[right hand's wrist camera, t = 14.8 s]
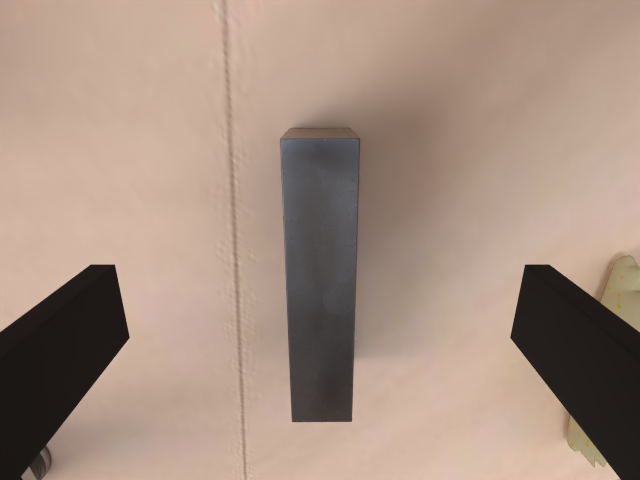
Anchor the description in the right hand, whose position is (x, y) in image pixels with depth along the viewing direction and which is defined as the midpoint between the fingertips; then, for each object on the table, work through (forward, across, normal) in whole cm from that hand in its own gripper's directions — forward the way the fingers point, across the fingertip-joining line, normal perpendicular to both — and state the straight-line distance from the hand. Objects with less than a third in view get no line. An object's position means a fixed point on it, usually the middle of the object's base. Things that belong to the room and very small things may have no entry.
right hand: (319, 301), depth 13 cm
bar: (+26, 0, -10) cm, 28 cm away
